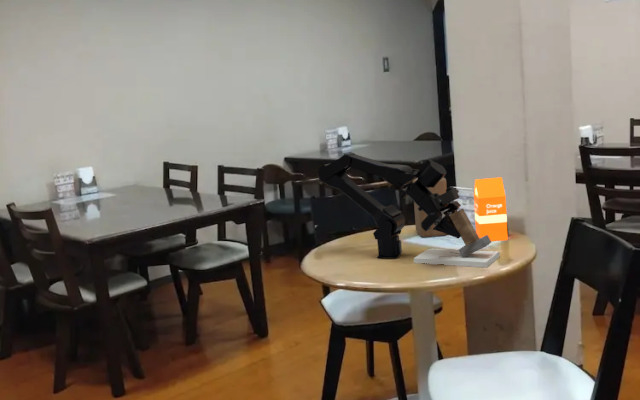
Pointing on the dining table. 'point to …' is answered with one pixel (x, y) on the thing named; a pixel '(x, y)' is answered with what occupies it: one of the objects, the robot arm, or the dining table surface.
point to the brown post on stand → (468, 234)
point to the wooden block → (421, 215)
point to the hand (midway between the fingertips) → (461, 235)
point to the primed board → (457, 257)
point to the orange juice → (490, 209)
